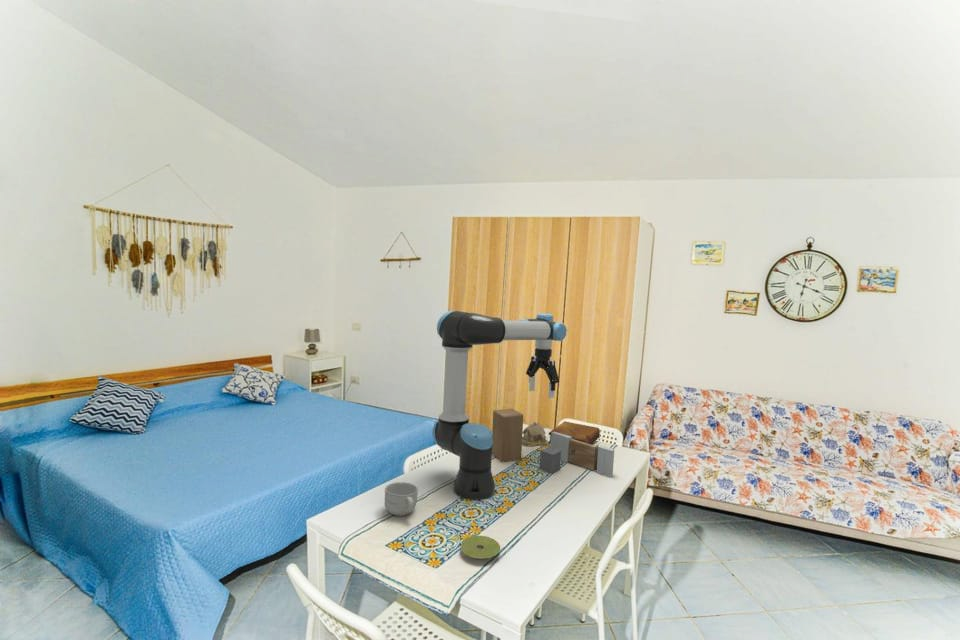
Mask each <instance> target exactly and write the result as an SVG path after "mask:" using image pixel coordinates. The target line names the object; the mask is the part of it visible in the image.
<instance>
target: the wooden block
mask: <svg viewBox="0 0 960 640" xmlns="http://www.w3.org/2000/svg"><path fill="white" fill-rule="evenodd" d="M523 431H524V414H523V413H521V412H519V411H518V410H516V409H514V408H504V409H494V410H493V412H492V430H491V432H492V440H493V445H492V456H493V457H495V458H496V459H497V460H498V459H499V462H502V463H503V461H504V462H509V460H511V461H516V460H517V461H518V460H521V459H522V452H523V451H522V450H523V449H522V448H523V445H522V437H523Z"/></svg>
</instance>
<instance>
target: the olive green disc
mask: <svg viewBox="0 0 960 640" xmlns="http://www.w3.org/2000/svg"><path fill="white" fill-rule="evenodd" d="M460 550H461V551H462V553H463V554H464V555H465V556H468V557H470V558H473V559H490V558H491V557H495V556H497V555H498V554H499V553H500V551H501V545H500V544H499V542H498V541H497V540H496V539H494V538H493V537H490V536H486V535H472V536H468V537H466V538H465V539H464V540H462V541H461V543H460Z"/></svg>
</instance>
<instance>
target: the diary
mask: <svg viewBox="0 0 960 640" xmlns="http://www.w3.org/2000/svg"><path fill="white" fill-rule="evenodd" d="M551 432H557V433H561V434H564V435H568V436H571V437H572V439H574V440H577V441H581V442H584V443H587V444H590V445H593V444H595V442H596V441H597V440H598V439H599V438H600V437H601V436H600V434H601V429H600V428H599V427H597V426H596V427H595V426H591V425H585V424H581V423H577V422H570V421H565V420H564V421H563V422H562V423H560V424H558V425H557V426H556V427H555V428H553V429H552V430H550V431H549V432H548V435H549V441H548V444H549V443H551Z"/></svg>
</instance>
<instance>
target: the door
mask: <svg viewBox="0 0 960 640" xmlns="http://www.w3.org/2000/svg"><path fill="white" fill-rule="evenodd" d="M598 447H599V444H596V445H593V444H592V445H590V444H587V443H584V442H581V441H577V440H574V439H570V447H569V462H568V463H571V464H574V465H577V466H579V467H582V468H585V469H589V470H591V471H596V472H597V458H598Z"/></svg>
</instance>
